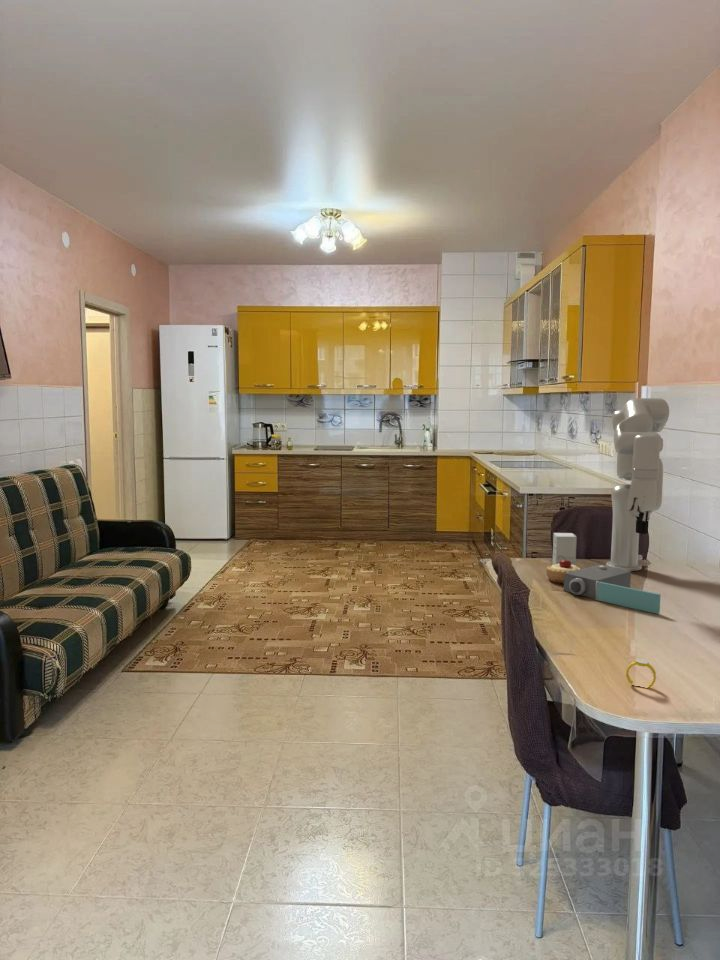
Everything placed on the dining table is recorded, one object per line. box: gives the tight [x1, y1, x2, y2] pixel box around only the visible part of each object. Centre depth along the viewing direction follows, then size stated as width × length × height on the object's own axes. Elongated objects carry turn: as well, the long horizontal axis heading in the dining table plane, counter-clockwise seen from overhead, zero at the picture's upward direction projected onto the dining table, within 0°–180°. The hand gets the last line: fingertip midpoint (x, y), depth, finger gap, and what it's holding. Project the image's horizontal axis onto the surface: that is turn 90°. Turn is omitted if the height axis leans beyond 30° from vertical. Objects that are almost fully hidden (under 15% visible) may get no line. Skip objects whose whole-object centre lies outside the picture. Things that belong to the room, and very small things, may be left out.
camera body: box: [563, 564, 632, 599], centre depth 229 cm, size 22×12×7 cm, turn 128°
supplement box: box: [552, 532, 578, 566], centre depth 261 cm, size 7×7×13 cm
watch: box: [625, 658, 657, 688], centre depth 152 cm, size 6×3×6 cm, turn 64°
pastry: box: [546, 556, 581, 585], centre depth 241 cm, size 12×12×9 cm
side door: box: [594, 581, 661, 615], centre depth 211 cm, size 20×1×6 cm, turn 43°
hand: (641, 532), depth 215 cm, fingers closed
